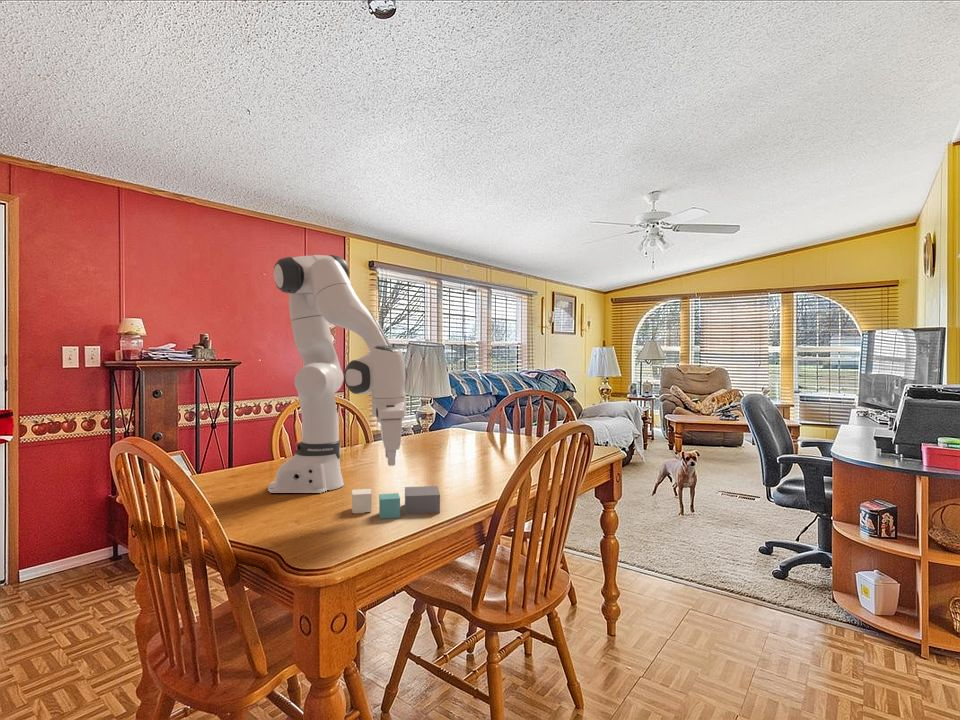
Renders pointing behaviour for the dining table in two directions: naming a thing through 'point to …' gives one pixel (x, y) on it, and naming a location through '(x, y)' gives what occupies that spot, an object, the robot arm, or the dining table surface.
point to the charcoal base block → (422, 500)
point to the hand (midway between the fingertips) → (390, 461)
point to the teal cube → (389, 505)
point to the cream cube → (361, 500)
